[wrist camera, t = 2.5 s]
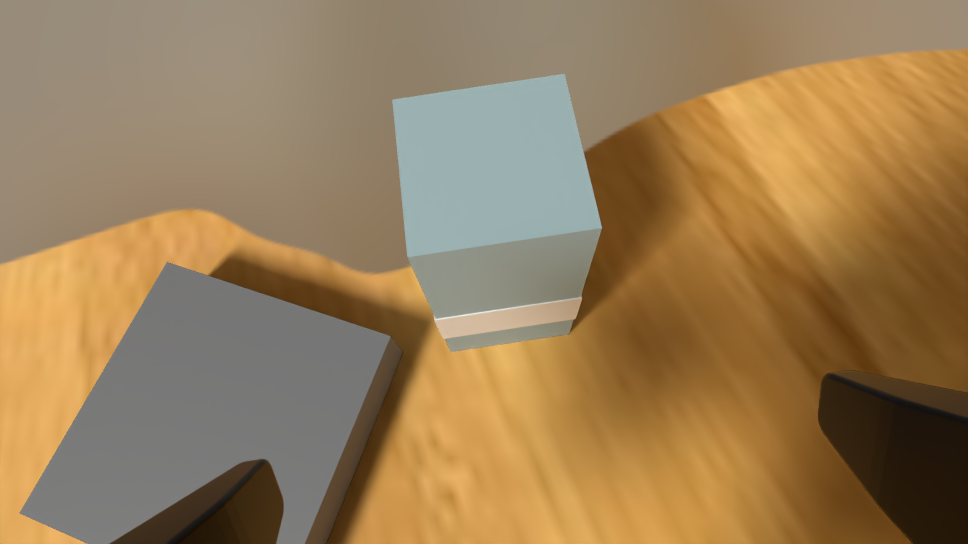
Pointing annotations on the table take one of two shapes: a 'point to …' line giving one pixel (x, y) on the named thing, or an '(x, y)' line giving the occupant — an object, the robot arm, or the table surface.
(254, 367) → the podium
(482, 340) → the carton
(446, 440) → the table surface
